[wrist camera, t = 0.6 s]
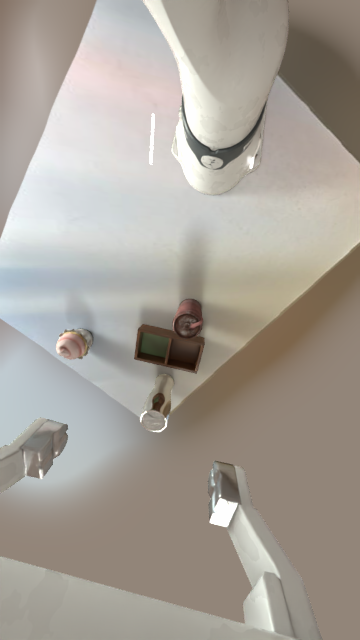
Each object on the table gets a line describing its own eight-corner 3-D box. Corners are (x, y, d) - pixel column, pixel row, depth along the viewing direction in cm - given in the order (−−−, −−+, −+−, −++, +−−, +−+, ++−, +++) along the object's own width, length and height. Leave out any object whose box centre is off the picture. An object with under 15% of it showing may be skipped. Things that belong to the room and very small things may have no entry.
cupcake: (104, 337, 55) (84, 352, 45) (88, 357, 57) (66, 375, 48) (78, 317, 54) (52, 328, 44) (64, 338, 56) (36, 353, 47)
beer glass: (177, 375, 56) (170, 414, 42) (172, 393, 58) (164, 435, 44) (156, 370, 56) (141, 406, 42) (152, 387, 59) (136, 428, 44)
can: (206, 313, 49) (208, 332, 36) (185, 323, 51) (180, 345, 37) (195, 294, 48) (194, 306, 35) (175, 304, 49) (166, 320, 36)
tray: (142, 323, 52) (138, 328, 48) (204, 337, 51) (204, 343, 48) (138, 352, 55) (134, 359, 51) (196, 365, 54) (196, 373, 51)
